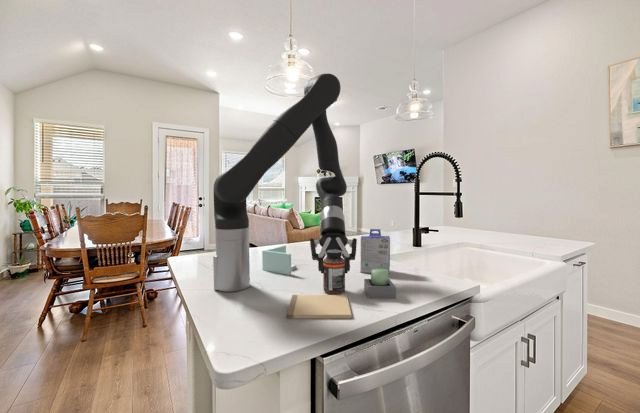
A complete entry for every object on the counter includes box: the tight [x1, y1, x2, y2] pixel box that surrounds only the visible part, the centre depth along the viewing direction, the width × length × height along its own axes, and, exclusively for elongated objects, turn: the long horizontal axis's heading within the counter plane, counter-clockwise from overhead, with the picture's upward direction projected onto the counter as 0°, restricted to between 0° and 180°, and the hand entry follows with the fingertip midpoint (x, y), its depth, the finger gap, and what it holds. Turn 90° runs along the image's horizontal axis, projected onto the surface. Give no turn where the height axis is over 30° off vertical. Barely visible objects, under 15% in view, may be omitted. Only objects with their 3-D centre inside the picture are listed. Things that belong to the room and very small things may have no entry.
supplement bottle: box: [322, 250, 346, 295], centre depth 79 cm, size 6×6×11 cm
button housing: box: [363, 278, 397, 300], centre depth 77 cm, size 7×7×3 cm
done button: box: [370, 268, 389, 285], centre depth 77 cm, size 4×4×4 cm
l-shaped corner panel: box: [261, 245, 297, 276], centre depth 103 cm, size 12×12×8 cm
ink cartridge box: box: [360, 228, 391, 275], centre depth 99 cm, size 10×6×14 cm, turn 78°
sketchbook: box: [286, 294, 352, 319], centre depth 68 cm, size 14×12×1 cm
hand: (334, 271), depth 78 cm, fingers closed on supplement bottle, 6 cm apart
